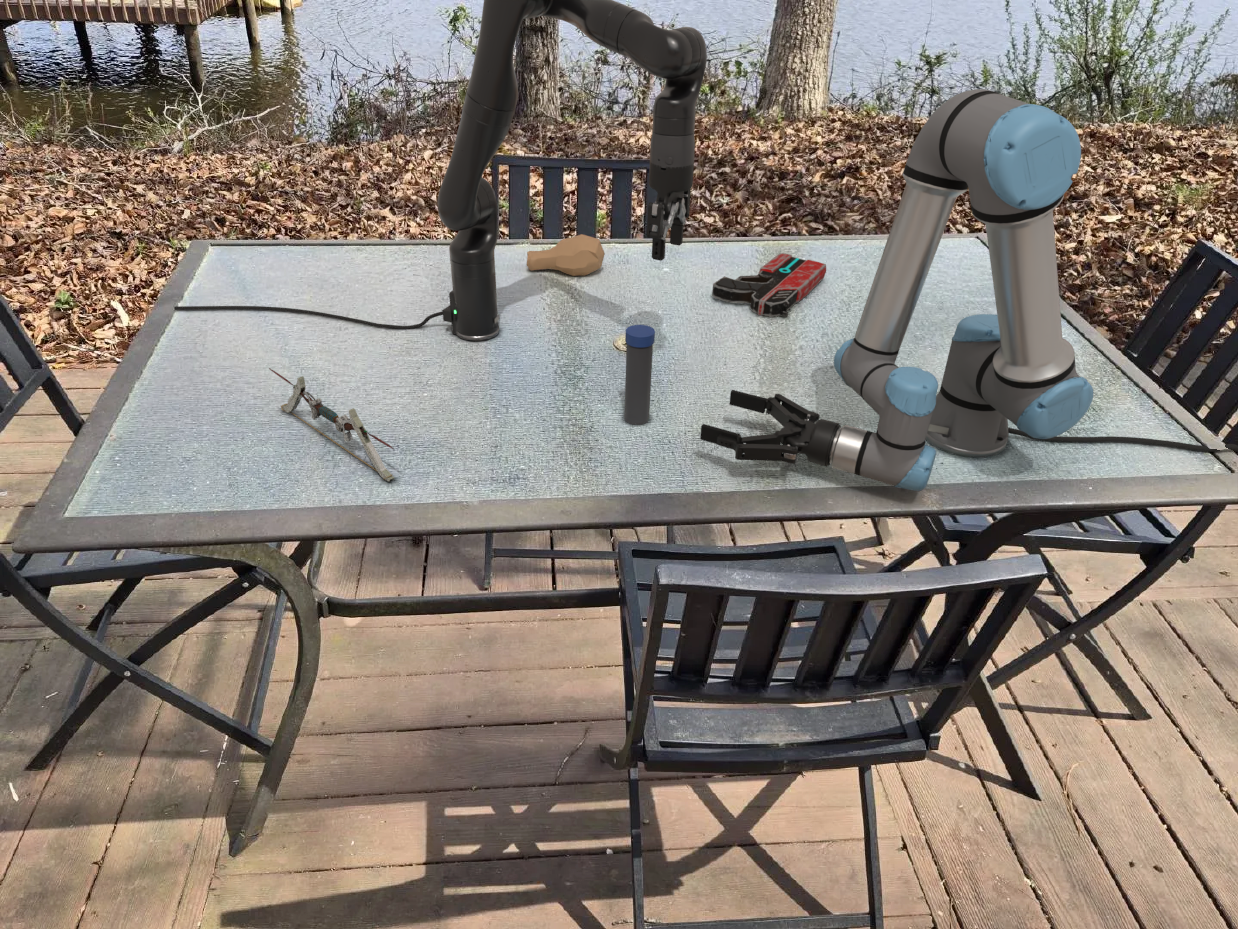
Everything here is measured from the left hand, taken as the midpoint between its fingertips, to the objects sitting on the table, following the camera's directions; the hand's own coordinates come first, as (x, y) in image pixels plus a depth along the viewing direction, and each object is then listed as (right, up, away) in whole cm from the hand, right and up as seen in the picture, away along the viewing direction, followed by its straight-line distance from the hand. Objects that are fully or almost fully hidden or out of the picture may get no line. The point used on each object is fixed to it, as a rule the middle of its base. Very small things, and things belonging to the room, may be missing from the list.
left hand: (667, 251), depth 157 cm
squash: (-22, +11, +67) cm, 71 cm away
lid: (-5, -15, -3) cm, 16 cm away
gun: (+29, +5, +59) cm, 66 cm away
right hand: (+8, -29, -4) cm, 31 cm away
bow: (-59, -35, -3) cm, 68 cm away
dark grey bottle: (-5, -30, +6) cm, 31 cm away
